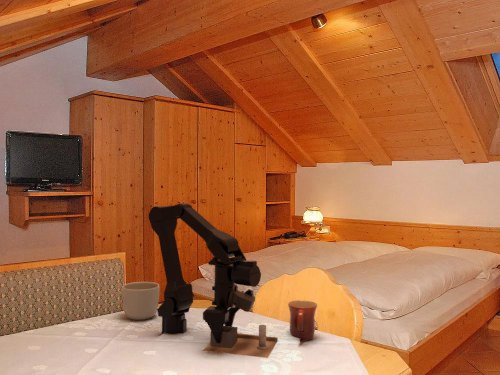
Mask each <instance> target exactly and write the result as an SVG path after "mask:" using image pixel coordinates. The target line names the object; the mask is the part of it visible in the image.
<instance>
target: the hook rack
mask: <svg viewBox="0 0 500 375" xmlns="http://www.w3.org/2000/svg"><path fill="white" fill-rule="evenodd" d="M278 341H279V340H278V337H277V336H276V337H275V336H268V335H267V325H265V324H259V325H258V335H257V334H256V335H255V334H250V333H249V334H248V333H246V334H245V333H239V332H237V342H236V343H235V344H234V346H233V347H232V348H222V347H213V346H210V342H209V343H208V344H207V345H206V346H205V347H204V348H203V349H202V351H203V352H214V353H220V354H221V353H222V354H232V355H239V356H246V357H247V356H250V357H258V358H266V359H268V358H269V357H270V355H271V353H272V351H273V350H274V349H275V346H276V345H277V343H278Z"/></svg>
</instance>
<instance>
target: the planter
mask: <svg viewBox="0 0 500 375" xmlns="http://www.w3.org/2000/svg"><path fill="white" fill-rule="evenodd" d="M121 296H122V306H123V307H122V309H123V313H124V315H125V316H126V317H127V318H128V319H130V320H132V321H143V320H144V321H145V320H149V319H151V318H153V317H154V316H155V315H156V314H157V313H158V312H157V309H158V308H159V302H160V300H159V298H160V284H159V283H157V282H154V281H153V282H152V281H136V282H129V283H125V284H123V285H121Z"/></svg>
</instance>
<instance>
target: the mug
mask: <svg viewBox="0 0 500 375" xmlns="http://www.w3.org/2000/svg"><path fill="white" fill-rule="evenodd" d="M287 305H288V308H289V317H290V319H289V333H290V335H291V336H292V337H294V338H297V339H299V342H308V340H309V341H311V340H312V339H314V337H315V327H316V326H315V324H316V323H315V315H316V310H317V307H318V303H316V302H314V301H312V300H305V299H304V300H302V299H299V300H291V301H289V302H288V303H287Z"/></svg>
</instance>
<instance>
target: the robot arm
mask: <svg viewBox="0 0 500 375" xmlns="http://www.w3.org/2000/svg"><path fill="white" fill-rule="evenodd" d="M179 219H181V221H182V222H184V223H185V224H186V225H187V226H188V227H189V228H190V229H191V230H192V231H193V232H195V234H197V235H198V236H199V237H200V238H201V239H203V242H205V244H206V248H207V250H208V251H209V252H210V253H211V255H212V256H213V257H212V259H211V260H210V261H208V265H209V266H210V265H211V266H214V285H212V286H211V290H212V291H214V292H213V294H214V296H213V300H212V301H211V305H209V307H208V308H206V309H205V310H204V311H202V321H204V322H205V323H206V324H207V326H208V328H209V330H210V332H212V334H213V336H214V338H215V341H216V343H221V339H222V333H223V326H231V327H233V324H234V320H235V316H236V314H237V313H238V311H240V309H241V310H242V311H243V312H245V313H249V312H250V310H252V308H253V307H254V306H253V305H254V303H255V302H256V296H255V294H254V290H252V289H250V288H248V289H247V290H246V291H245V292H244V291H240V290H239V288H238V286H239V285H240V286H245V287H251V288H255V287H258V285H259V284H260V282H261V277H262V272H261V268H260V267H259V265H258V262H257V260H247V257H246V256H245V254H244V253H243V251H242V248H240V245H239V241H238V239H237V238H236V237H235V236H232V235H231V234H229V233H227V232H225V231H223V230H220V229H218V228H216V227H215V226H214V225H213V224H212V223H210V222H209V221H208V220H207V218H205V217H204V216H203V215H201V214H200V213H199V212H198V211H197V210H195V208H193V206H192V205H191V204H190V203H188V202H187V203H177V204H174V205H159V206H157V205H156V206H153V207H151V208H150V211H149V212H148V220H149V223H150V225H151V226H150V227H151V229H152V230H153V232H155V234H156V235H157V237H158V242H159V248H160V251H161V252H160V253H161V258H162V263H163V268H164V274H165V279H166V285H165V289H164V292H163V302H162V303H161V304H160V306H158V308H157V312H156V313H157V314H158V317H160V318H161V333H160V334H159V336H161V335H163V334H168V335H176V334H185V333H186V332H187V323H188V321H187V318H186V314H187V313H189V311H190V308H191V307H192V304H193V303H194V297H195V294H194V292H193V285H192V283H187V282H186V281H185V280H184V277H183V271H182V266H181V261H180V255H179V251H178V250H179V249H178V244H177V240H176V235H175V233H176V228H177V226H178V220H179Z"/></svg>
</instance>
